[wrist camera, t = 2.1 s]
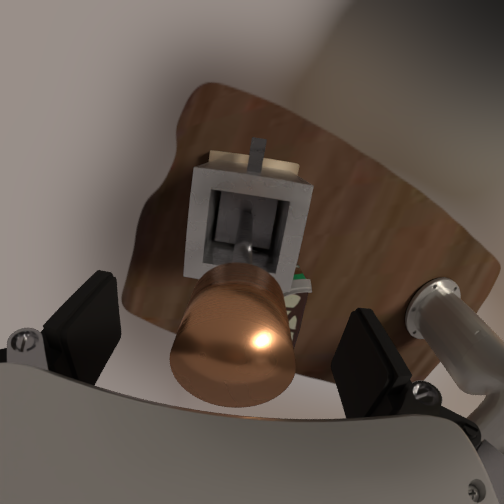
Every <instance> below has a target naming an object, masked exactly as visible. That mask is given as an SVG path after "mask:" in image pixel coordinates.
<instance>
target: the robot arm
mask: <svg viewBox="0 0 504 504" xmlns="http://www.w3.org/2000/svg"><path fill="white" fill-rule="evenodd" d="M405 325H406V328H407V330H408V331H409V333H410V334H411V335H412V336H413V337H415V338H418V339H425V340H426V342H427V343H428V344H429V346H430V347H431V349H432V350H433V351H434V353H435V354H436V356H437V357H438V358H439V360H440V361H441V363H442V364H443V365H444V367H445V368H446V370H447V371H448V373H449V374H450V376H451V377H452V379H453V380H454V381H455V383H456V384H457V386H458V387H459V388H460V389H461V390H462V391H463V392H465V393H467V394H471V395H486V397H485V399H484V401H482V403H481V404H480V405H479V406H478V408H476V409H475V410H474V411H473V412H472V413H471V414H470V415H469V416H468V417H467V418H464V417H462V416H460V415H458V414H456V413H455V412H452V411H451V410H449V409H447V408H445V407H443V406H441V404H442V396H441V393H440V391H439V390H438V389H437V388H436V387H435V386H434V385H432V384H431V383H429V382H426V381H415V382H413V383H412V382H411V380H410V378H411V377H412V374H411V372H410V371H409V369H408V367H407V366H406V364H405V362H404V361H403V359H402V357H401V356H400V354H399V352H398V351H397V349H396V347H395V346H394V344H393V342H392V341H391V339H390V338H389V336H388V334H387V333H386V331H385V330H384V328H383V326H382V325H381V323H380V322H379V320H378V319H377V317H376V315H375V314H374V312H373V311H372V310H371V309H366V308H357V309H356V310H355V311H352V313H351V315H350V317H349V320H348V323H347V325H346V328H345V330H344V333H343V335H342V338H341V340H340V343H339V345H338V348H337V350H336V352H335V355H334V357H333V359H332V362H331V369H332V373H333V376H334V379H335V382H336V385H337V389H338V392H339V395H340V398H341V402H342V405H343V409H344V412H345V415H346V418H345V419H280V418H262V417H249V416H238V415H228V414H221V413H213V412H207V411H200V410H194V409H188V408H182V407H177V406H171V405H167V404H162V403H157V402H153V401H148V400H144V399H140V398H136V397H132V396H128V395H124V394H121V393H117V392H114V391H110V390H107V389H104V388H100V387H97V386H94V385H95V383H96V381H97V380H98V378H99V376H100V374H101V372H102V370H103V369H104V367H105V365H106V363H107V361H108V360H109V358H110V356H111V354H112V353H113V351H114V349H115V347H116V346H117V344H118V342H119V340H120V338H121V325H120V316H119V306H118V295H117V281H116V277H113V274H112V273H111V272H106V271H101V270H98V271H97V272H95V273H94V274H93V275H92V276H91V277H90V278H89V279H88V280H87V281H86V282H85V283H84V284H83V285H82V286H81V287H80V288H79V289H78V290H77V291H76V292H75V293H74V294H73V295H72V296H71V297H70V298H69V299H68V300H67V301H66V302H65V303H64V304H63V305H62V306H61V307H60V308H59V309H58V310H57V311H56V312H55V313H54V314H53V315H52V316H51V318H50V319H49V320H48V321H47V322H46V323H45V324H44V325H43V327H44V329H43V330H42V331H41V332H39V331H38V330H36V329H33V328H22V329H19V330H17V331H15V332H14V333H12V334H11V335H10V337H9V338H8V341H7V348H4V349H0V504H504V341H503V340H502V339H501V338H500V337H499V336H498V335H497V334H496V333H495V332H494V331H493V330H492V329H491V328H490V327H489V326H488V325H487V324H486V323H485V322H484V321H483V320H482V319H481V318H480V317H479V316H478V315H477V314H476V313H475V312H474V311H473V310H472V309H471V308H470V307H469V306H468V305H467V304H465V303H464V302H463V301H462V300H461V299H460V290H459V287H458V285H457V284H456V283H455V282H454V281H453V280H451V279H449V278H444V277H443V278H437V279H434V280H432V281H430V282H428V283H427V284H425V285H424V286H423V287H422V288H421V289H420V290H419V291H418V292H417V293H416V294H415V296H414V297H413V298H412V300H411V302H410V304H409V306H408V308H407V311H406V315H405Z"/></svg>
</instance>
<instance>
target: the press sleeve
mask: <svg viewBox="0 0 504 504" xmlns="http://www.w3.org/2000/svg"><path fill="white" fill-rule="evenodd" d="M265 146H266V139H260V138H254V137H252V142H251V148H250V154H249V160H248V164H246V163H239V162H232V161H225V160H214V161H211V162H208V163H205V164H202V165H199V166H196V167H194V170H193V178H192V186H191V195H190V204H189V214H188V224H187V235H186V247H185V261H184V277H190V278H196V279H200V278H201V277H202V276H203V275H204V274H205V273H206V272H207V271H209V270H210V269H212V268H214V267H216V266H219V265H222V264H226V263H231V261H232V256H233V250H234V245H235V244H234V243H227V242H220V241H215V236H216V228H217V220H218V213H219V205H220V198H221V191H227V192H234V193H241V194H248V195H254V196H260V197H266V198H272V199H278V203H277V209H276V214H275V219H274V225H273V230H272V235H271V241H270V246H269V249H267V248H260V247H253V246H252V265H255V266H257V267H260V268H262V269H263V270H265V271H267V272H268V273H269V274H270V275H272V276H273V277H274V278H275V280H276V281H277V282H278V284H279V285H280V287H281V289H282V291H286V292H290V289H291V285H292V281H293V277H294V272H295V268H296V264H297V260H298V255H299V251H300V247H301V242H302V238H303V233H304V229H305V224H306V219H307V215H308V210H309V205H310V200H311V195H312V191H313V185H311V184H310V183H308V182H307V181H305V180H304V179H302V178H300V177H299V176H297V175H296V174H294V173H293V172H291V171H288V170H282V169H277V168H271V167H265V166H262V164H263V158H264V152H265Z"/></svg>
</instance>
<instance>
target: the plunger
mask: <svg viewBox="0 0 504 504" xmlns="http://www.w3.org/2000/svg"><path fill="white" fill-rule="evenodd" d="M277 203H278V199H272V198H266V197H260V196H254V195H248V194H241V193H234V192H227V191H221V198H220V205H219V213H218V220H217V228H216V236H215V241H220V242H227V243H234V244H235V245H234V250H233V256H232V261H231V263H226V264H222V265H219V266H216V267H214V268H212V269H210V270H209V271H207V272H206V273H205V274H204V275H203V276H202V277H201V278H200V279H199V280H198V282H197V283H196V286H195V288H194V290H193V293H192V295H191V298H190V300H189V303H188V306H187V308H186V311H185V313H184V316H183V319H182V321H181V324H180V327H179V330H178V332H177V335H176V338H175V340H174V343H173V346H172V349H171V352H170V366H171V369H172V372H173V375H174V377H175V378H176V379H177V381H178V382H179V384H180V385H181V386H182V387H183V388H184V389H185V390H186V391H188V392H189V393H190V394H192V395H194V396H195V397H197V398H199V399H201V400H203V401H205V402H208V403H211V404H214V405H218V406H224V407H235V408H236V407H238V408H239V407H250V406H255V405H259V404H262V403H265V402H268V401H270V400H272V399H274V398H275V397H277V396H278V395H280V394H281V393H282V392H283V391H285V390H286V388H287V387H288V386H289V385H290V383H291V382H292V380H293V378H294V375H295V371H296V360H295V354H294V349H293V343H292V338H291V332H290V327H289V321H288V316H287V311H286V305H285V300H284V295H283V292H282V289H281V287H280V285H279V284H278V282H277V281H276V280H275V278H274V277H273V276H272V275H270V274H269V273H268V272H267V271H265V270H263V269H262V268H260V267H257V266H255V265H252V246H253V247H260V248H267V249H269V246H270V241H271V235H272V230H273V225H274V219H275V214H276V209H277Z"/></svg>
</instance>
